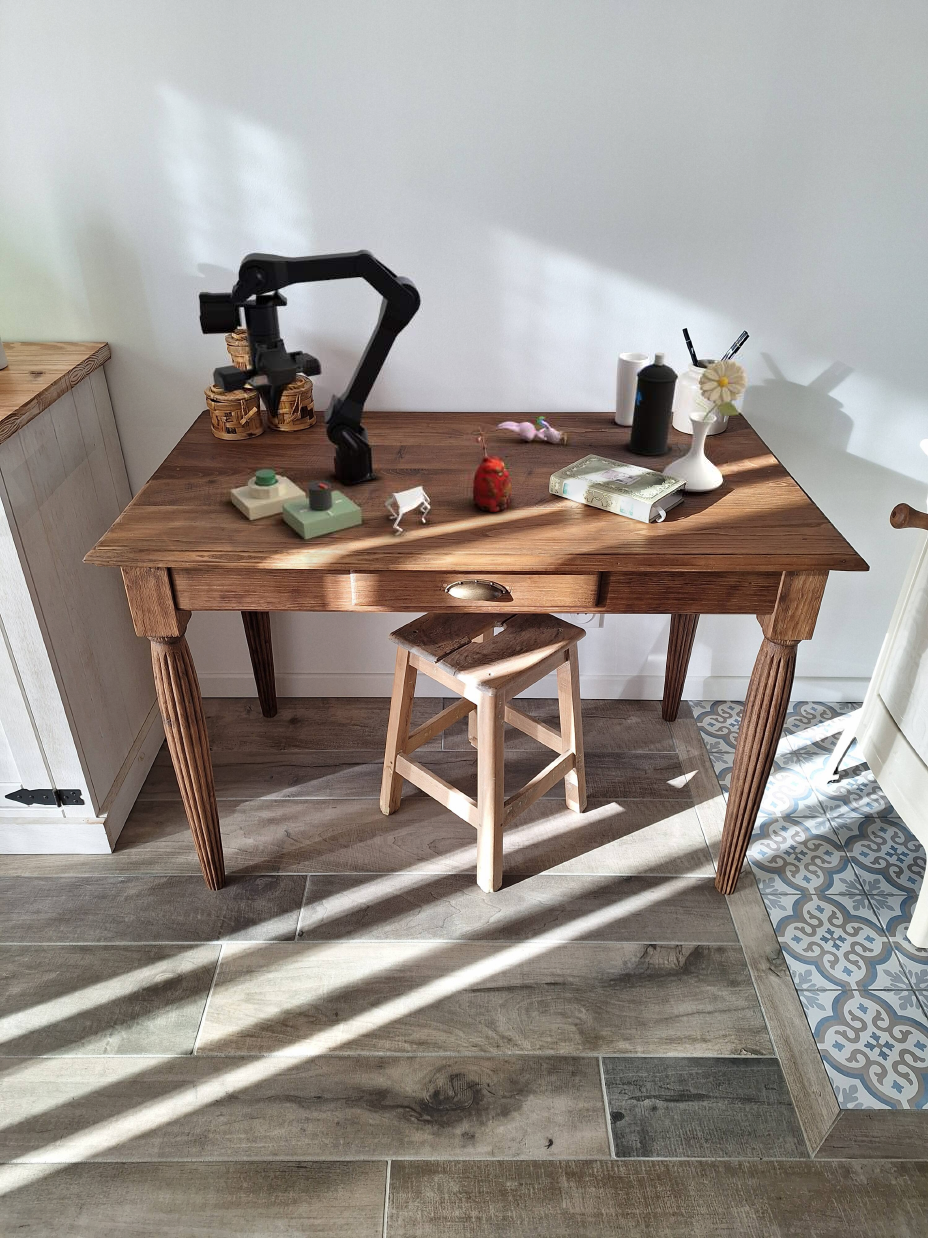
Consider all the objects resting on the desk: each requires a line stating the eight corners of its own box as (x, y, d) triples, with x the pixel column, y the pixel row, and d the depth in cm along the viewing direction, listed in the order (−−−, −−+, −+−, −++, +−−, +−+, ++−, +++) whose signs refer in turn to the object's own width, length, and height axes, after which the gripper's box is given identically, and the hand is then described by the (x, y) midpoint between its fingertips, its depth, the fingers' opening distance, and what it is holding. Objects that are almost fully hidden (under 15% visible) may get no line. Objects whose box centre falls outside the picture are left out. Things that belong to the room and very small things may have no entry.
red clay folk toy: (503, 516, 153) (506, 437, 145) (466, 511, 155) (467, 432, 147) (514, 499, 159) (517, 422, 151) (478, 494, 161) (479, 417, 153)
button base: (286, 488, 163) (284, 466, 160) (306, 505, 157) (304, 483, 154) (231, 502, 158) (228, 479, 155) (250, 520, 151) (247, 497, 149)
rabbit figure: (563, 442, 187) (496, 429, 186) (570, 416, 184) (502, 403, 183) (564, 453, 182) (495, 439, 181) (570, 427, 178) (500, 413, 178)
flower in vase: (649, 485, 165) (667, 356, 151) (680, 468, 172) (700, 343, 158) (710, 505, 158) (734, 371, 144) (739, 487, 165) (765, 357, 151)
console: (338, 505, 157) (337, 489, 155) (361, 523, 151) (360, 507, 149) (283, 519, 152) (281, 503, 150) (305, 539, 145) (303, 523, 144)
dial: (304, 506, 149) (302, 483, 147) (322, 499, 152) (320, 476, 149) (319, 513, 147) (317, 490, 145) (337, 505, 150) (335, 483, 147)
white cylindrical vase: (611, 426, 191) (618, 360, 183) (611, 416, 197) (618, 351, 189) (641, 428, 190) (650, 361, 182) (641, 418, 196) (649, 352, 188)
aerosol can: (673, 446, 182) (687, 352, 171) (658, 459, 176) (672, 362, 165) (637, 438, 185) (648, 345, 175) (622, 450, 180) (632, 355, 169)
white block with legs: (387, 508, 156) (385, 483, 153) (432, 509, 155) (432, 484, 153) (378, 539, 146) (377, 513, 143) (427, 540, 145) (426, 514, 143)
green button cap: (271, 477, 157) (270, 467, 156) (279, 484, 154) (278, 474, 153) (253, 482, 155) (251, 471, 154) (261, 489, 153) (259, 478, 152)
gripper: (229, 350, 140) (242, 440, 148) (331, 334, 149) (338, 420, 157) (205, 335, 147) (219, 421, 156) (304, 320, 156) (312, 403, 165)
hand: (273, 417), depth 158 cm, fingers closed
